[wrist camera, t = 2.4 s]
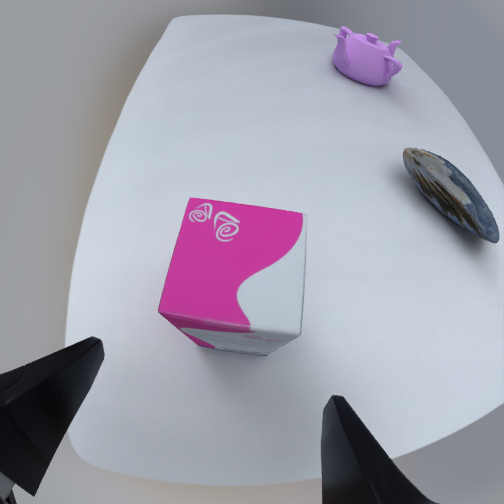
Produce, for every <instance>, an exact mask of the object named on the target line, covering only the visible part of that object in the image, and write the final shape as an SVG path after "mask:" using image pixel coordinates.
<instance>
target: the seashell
mask: <svg viewBox="0 0 504 504" xmlns="http://www.w3.org/2000/svg"><path fill="white" fill-rule="evenodd" d="M403 160H404V164H405V167H406V169H407V171H408V173H409V174H410V176H411V178H412V179H413V181H414V182H415V184H416V185H417V187H418V188H419V189H420V191H421V192H422V193H423V194H424V195H425V196H426V197H427V198H428V199H429V200H430V201H431V202H432V203H433V204H434V205H435V206H436V207H437V208H438V209H439V210H440V211H441V212H442V213H443V214H445V215H446V216H447V217H449V218H450V219H452V220H453V221H454V222H456V223H457V224H458V225H460V226H461V227H463V228H465V229H467V230H469V231H471V232H472V233H473V234H475V235H476V236H478V237H480V238H483V239H486V240H488V241H490V242H492V243H497V242H498V241H499V230H498V226H497V224H496V221H495V219H494V217H493V214H492V212H491V211H490V209H489V208H488V206H487V204H486V203H485V201H484V200H483V198H482V197H481V195H480V194H479V192H478V191H477V190H476V188H475V187H474V186H473V184H472V183H471V182H470V180H469V179H468V178H467V177H466V176H465V175H464V174H463V173H462V172H461V171H460V170H458V169H457V168H456V167H455V166H454V165H453V164H451V163H450V162H449V161H447V160H446V159H444V158H442V157H441V156H438V155H436V154H433V153H431V152H429V151H425V150H423V149H421V150H420V149H417V148H406V149H404V151H403Z"/></svg>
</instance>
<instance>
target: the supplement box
mask: <svg viewBox="0 0 504 504" xmlns="http://www.w3.org/2000/svg"><path fill="white" fill-rule="evenodd" d="M306 235H307V214H305V213H298V212H293V211H286V210H280V209H273V208H266V207H260V206H253V205H245V204H238V203H231V202H223V201H216V200H208V199H200V198H190V199H189V201H188V204H187V208H186V211H185V214H184V218H183V221H182V225H181V229H180V232H179V235H178V238H177V242H176V245H175V248H174V252H173V255H172V259H171V262H170V266H169V269H168V273H167V276H166V280H165V284H164V288H163V292H162V296H161V300H160V304H159V308H158V312H159V313H160V314H161V315H162V316H163V317H165V318H166V319H167V320H168V321H169V322H170V323H171V324H173V325H174V326H175V327H176V328H178V329H179V330H180V331H181V332H183V333H184V334H185V335H186V336H187V337H189V338H190V339H191V340H192V341H194V342H195V343H196V344H197V345H200V346H204V347H208V348H213V349H219V350H224V351H231V352H237V353H244V354H252V355H262V356H267V355H268V354H270V353H271V352H273V351H275V350H276V349H278V348H280V347H281V346H283V345H285V344H286V343H288V342H289V341H291V340H293V339H294V338H296V337H298V336H299V335H300V334H301V327H302V317H303V302H304V286H305V266H306Z"/></svg>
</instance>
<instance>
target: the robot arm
mask: <svg viewBox="0 0 504 504" xmlns="http://www.w3.org/2000/svg"><path fill="white" fill-rule="evenodd" d="M103 360H104V349H103V343H102V340H101V339H99V338H96V337H93V336H92V337H89V338H87V339H85V340H82V341H80V342H78V343H75V344H73V345H71V346H68V347H66V348H64V349H62V350H59V351H57V352H54V353H52V354H50V355H48V356H46V357H43V358H40V359H38V360H36V361H33V362H32V363H28V364H26V365H25V366H21V367H19V368H16V369H14V370H11V371H9V372H6V373H3V374H0V504H17V503H16V500H15V497H14V494H13V491H12V488H13V486H14V484H15V483H16V484H17V485H18V486H20V487H21V488H22V489H24V490H25V491H26V492H28V493H29V494H31V495H32V496H35V494H36V492H37V490H38V488H39V485H40V483H41V481H42V479H43V477H44V475H45V473H46V470H47V468H48V466H49V464H50V462H51V460H52V458H53V456H54V454H55V452H56V450H57V448H58V446H59V444H60V442H61V440H62V439H63V437H64V435H65V433H66V431H67V429H68V427H69V425H70V424H71V422H72V420H73V418H74V416H75V415H76V413H77V411H78V409H79V408H80V406H81V404H82V402H83V401H84V399H85V397H86V395H87V394H88V392H89V390H90V388H91V386H92V384H93V382H94V380H95V377H96V375H97V373H98V371H99V369H100V366H101V364H102V362H103ZM321 465H322V504H439V503H435V502H433V501H431V500H429V499H428V498H427V497H425V496H424V495H423V494H422V493H421V492H420V491H419V490H418V489H417V488H416V487H415V486H414V485H413V484H412V483H411V482H410V481H409V480H408V479H407V478H406V477H405V475H404V474H403V473H402V472H401V471H400V470H399V469H398V467H397V466H396V465H395V464H394V463H393V461H392V460H391V459H390V458H389V456H388V455H387V453H386V452H385V451H384V450H383V448H382V447H381V446H380V444H379V443H378V442H377V440H376V439H375V438H374V436H373V435H372V434H371V433H370V431H369V430H368V429H367V427H366V426H365V425H364V423H363V422H362V421H361V419H360V418H359V417H358V415H357V414H356V413H355V411H354V410H353V409H352V407H351V406H350V405H349V403H348V402H347V401H346V399H345V398H344V397H343V396H339V395H333V396H331V398H330V399H329V401H328V403H327V404H326V406H325V407H324V410H323V421H322V436H321Z"/></svg>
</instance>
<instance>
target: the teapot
mask: <svg viewBox="0 0 504 504" xmlns="http://www.w3.org/2000/svg"><path fill="white" fill-rule="evenodd" d="M347 34H348V35H349V37H347V38H346V35H347ZM335 36H336V37H337V39H338V43H337V46H336V48H335V50H334V52H333V55H332V59H333V61H334V63H335V65H336V67H337V68H338V70H339V71H340V72H342V73H343V74H344V75H346V76H347V77H349V78H351V79H353V80H355V81H358V82H360V83H363V84H366V85H371V86H379V85H383V84H386V83H388V82H389V81H390V80H391V77H392V76H394V75H395V74H397V73H398V72H399V71H400V70H401V68H402V64H401V62H400V61H398V60H397V59H395V58H393V56H394V51H395V49H396V47H397V45H398V44H400V43H401V41H400V40H395V41H393V42H391V43H390V44H389V45H388V47H387V46H386V45H385V44H383V43H382V42H380V41H378V39H379V38H378V37H377V36H376V35H374V34H371V33H366V35H363V34H354V33H353V32H352V31H351V30H350V29H348V28H346V27H341V28H340V32H339V35H336V34H335ZM392 63H393V64H392Z"/></svg>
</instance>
